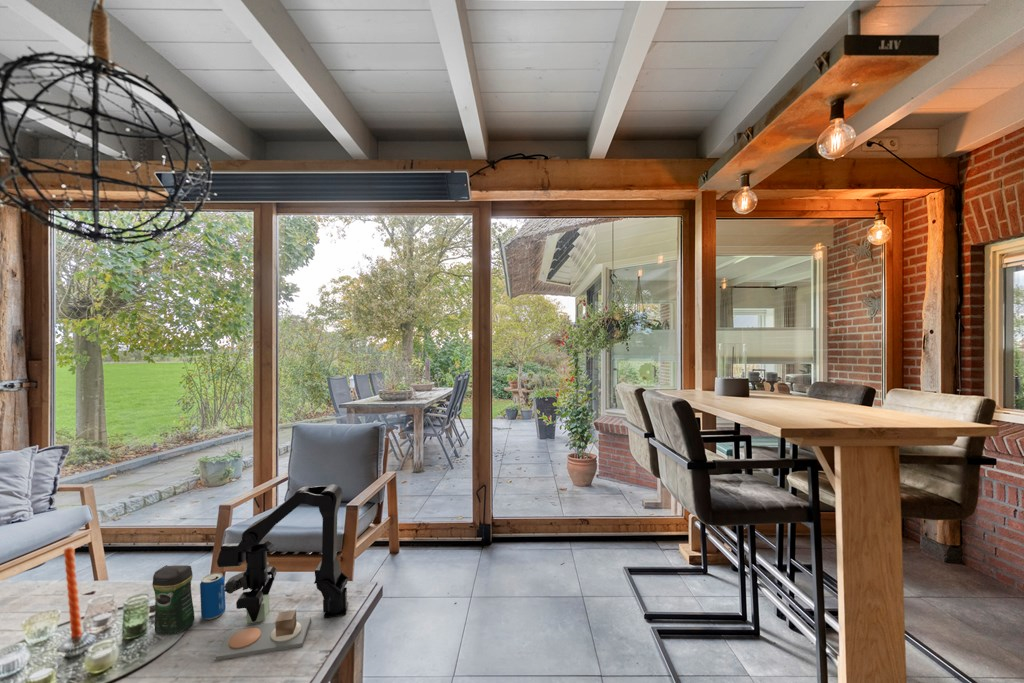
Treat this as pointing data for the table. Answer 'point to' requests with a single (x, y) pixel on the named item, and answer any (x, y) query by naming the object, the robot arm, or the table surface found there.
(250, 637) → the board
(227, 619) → the table surface
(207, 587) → the beverage can
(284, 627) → the walnut block
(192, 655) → the table surface
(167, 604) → the coffee jar
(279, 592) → the table surface
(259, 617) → the sage block
